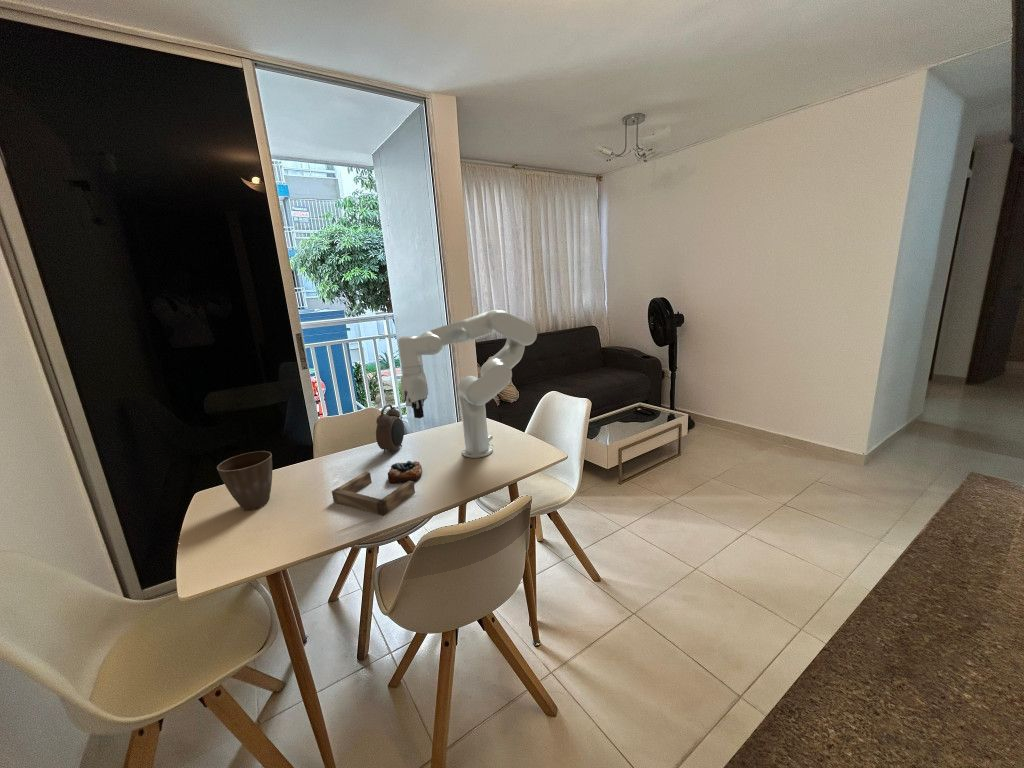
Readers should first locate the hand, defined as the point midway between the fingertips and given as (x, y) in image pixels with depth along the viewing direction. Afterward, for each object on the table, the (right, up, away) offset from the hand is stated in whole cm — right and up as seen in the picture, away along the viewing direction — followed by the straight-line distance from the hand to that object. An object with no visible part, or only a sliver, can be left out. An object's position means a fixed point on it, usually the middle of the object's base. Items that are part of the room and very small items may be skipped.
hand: (419, 417), depth 146 cm
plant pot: (-51, -28, -17) cm, 60 cm away
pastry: (-4, -22, -5) cm, 22 cm away
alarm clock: (-16, -16, +20) cm, 30 cm away
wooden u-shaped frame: (-10, -25, -18) cm, 32 cm away
